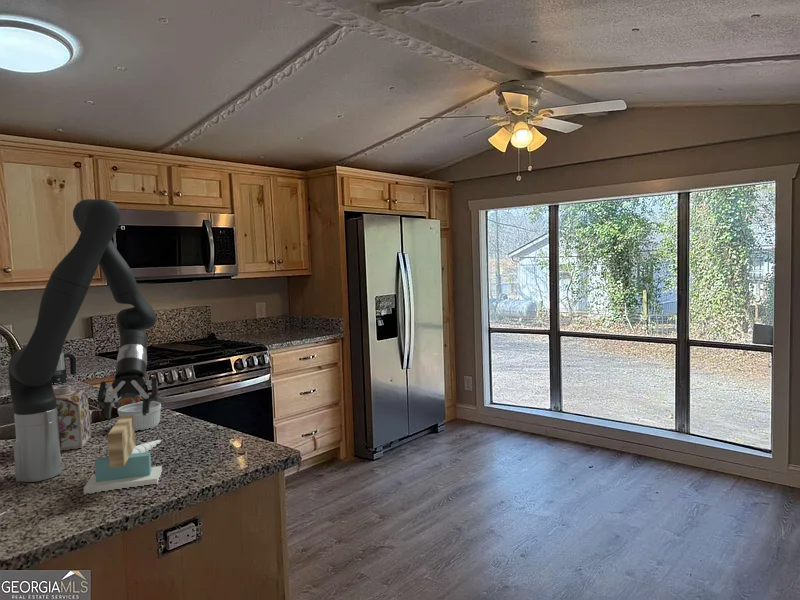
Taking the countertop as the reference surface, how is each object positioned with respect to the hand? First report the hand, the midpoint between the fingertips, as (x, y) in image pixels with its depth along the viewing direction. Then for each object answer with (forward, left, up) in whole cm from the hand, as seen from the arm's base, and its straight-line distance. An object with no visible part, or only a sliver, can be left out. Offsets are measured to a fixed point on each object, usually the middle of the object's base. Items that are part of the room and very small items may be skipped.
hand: (126, 415), depth 145 cm
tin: (-12, +70, -15) cm, 73 cm away
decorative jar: (-23, +32, -15) cm, 42 cm away
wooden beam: (0, -7, -8) cm, 11 cm away
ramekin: (-4, +45, -15) cm, 47 cm away
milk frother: (-56, +144, -15) cm, 155 cm away
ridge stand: (0, -7, -15) cm, 17 cm away
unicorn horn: (0, +13, -15) cm, 20 cm away
